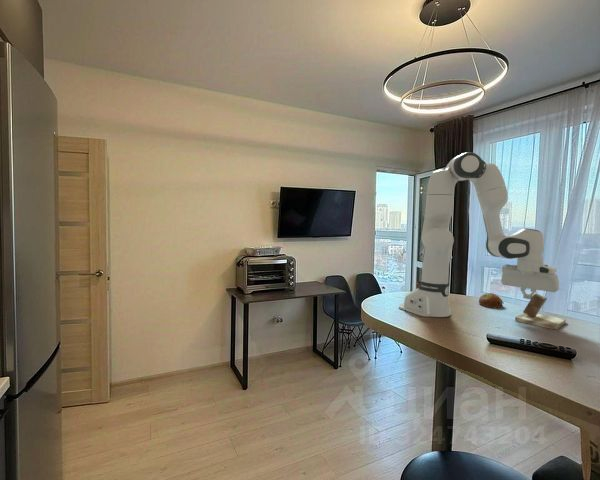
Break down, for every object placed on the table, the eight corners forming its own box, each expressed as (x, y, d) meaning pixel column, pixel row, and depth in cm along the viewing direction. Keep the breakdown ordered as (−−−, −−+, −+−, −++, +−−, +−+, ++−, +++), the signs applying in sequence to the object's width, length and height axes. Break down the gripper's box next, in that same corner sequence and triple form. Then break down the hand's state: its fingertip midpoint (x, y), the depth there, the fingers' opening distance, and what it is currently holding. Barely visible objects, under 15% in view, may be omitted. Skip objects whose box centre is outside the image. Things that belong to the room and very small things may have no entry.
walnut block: (522, 312, 138) (533, 294, 134) (525, 310, 140) (536, 293, 137) (532, 317, 135) (544, 299, 132) (535, 316, 138) (547, 298, 134)
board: (515, 320, 136) (515, 317, 136) (525, 314, 145) (526, 311, 145) (556, 329, 125) (556, 326, 125) (565, 322, 134) (565, 319, 134)
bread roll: (492, 310, 165) (487, 294, 168) (510, 306, 156) (504, 290, 159) (477, 311, 162) (472, 295, 164) (494, 308, 153) (489, 291, 155)
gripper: (499, 264, 143) (498, 295, 144) (557, 270, 127) (554, 304, 128) (504, 263, 147) (503, 293, 148) (561, 268, 131) (559, 302, 132)
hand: (527, 298), depth 138 cm, fingers closed
